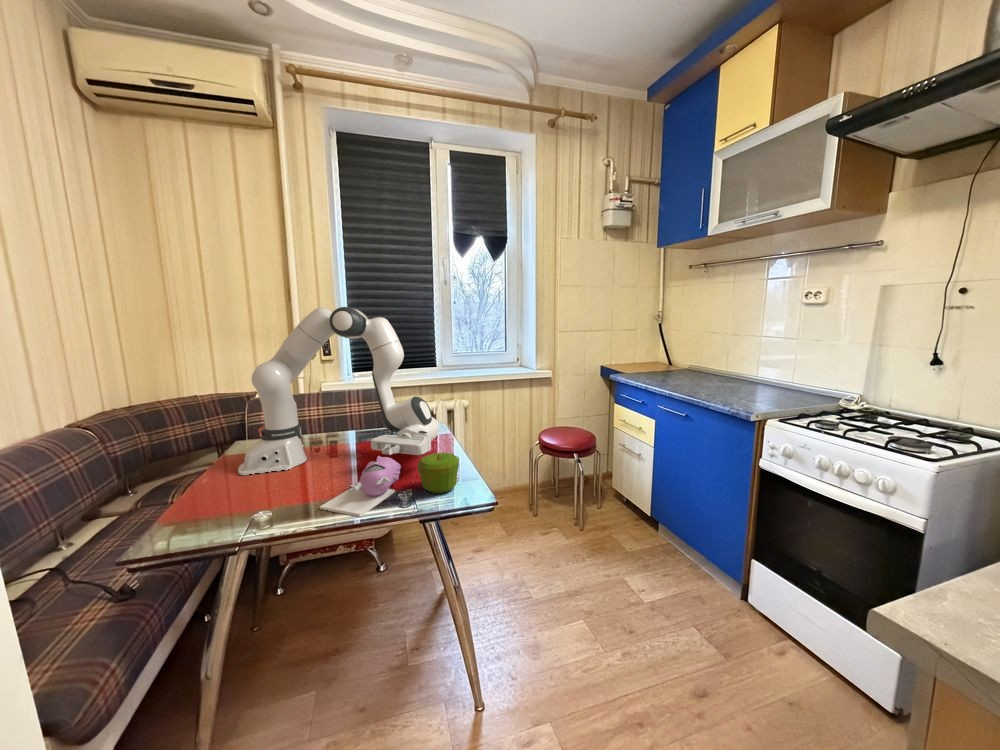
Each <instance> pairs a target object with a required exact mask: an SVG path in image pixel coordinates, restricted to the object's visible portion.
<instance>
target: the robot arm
mask: <svg viewBox="0 0 1000 750" xmlns="http://www.w3.org/2000/svg"><path fill="white" fill-rule="evenodd" d="M334 335H338V336H340V337H343V338H345V339H350V340H360V339H363V340H364V341H365V342H366V344H367V346H368V348H369V351H370V353H371V356H372V361H373V367H372V368H373V369H372V370H371V376H372V381H373V385H374V389H375V391H376V396H377V400H378V403H379V407H380V413H381V421H382V424H383V426H384V427H385V428H386V429H387V430H389V431H390V432H392V433H397V435H395V434H394V435H392V434H381V435H378V436H376V437H373V438H371V440H370V447H371V450H373V451H380V452H381V454H382V455H388V456H392V455H393V454H405V455H413V456H414V455H415V456H423V455H424V454H426V453H428V452H430V451H431V450H432V441H433V440H434V439H436V437H437V436H438V434H439V432H440V424H439V421H438V420H437V419H436V418H434V417H433V415H432V411H431V407H430V406H429V404H428V403H427V401H426V400H424V399H423V398H422V397H419V396H413V397H410V398H408V399H405V400H403V401H401V402H398V403H396V401H395V399H394V394H393V391H392V388H391V379H392V376H393V375H394V373H395V372H396V371H398V369H399V367H401V365H402V363H403V361H404V358H405V353H404V352H405V351H404V348H403V345H402V344H401V341H400V339H399V337H398V334H397V333H396V331H395V329H394V328H393V326H392V325H391V323H390V322H389V320H388V319H386V318H385V317H382V316H381V317H380V316H379V317H378V316H377V317H373V318H369V316H368V315H367V314H365V313H363V312H362V311H360V310H359V309H357V308H352V307H350V306H340V307H337V308H336V309H334V310H333V311H332V310H331V309H329V308H327V307H321V306H320V307H317V308H315V309H313V310H312V311H311V312H309V313H308V314H307V315H306V316H305V317H304V318H302V319H301V321H300V322H299V323H298V324H297V325H296V326H295V327H294V329H293V330H292V331H290V333H289V335H288V336H287V337H286V338H285V339H284V340H283V342H282V344H281V346H280V347H279V349H278V350H277V351H276V353H275V354H274V356H273V357H271V358H270V359H269V360H267V361H265V362H263V363H260V364H259V365H258V366H256V368H255V369H254V370H253V373H252V375H251V384H252V385H253V387H254V389H255V390H256V393H257V395H258V398H259V400H260V404H261V407H262V414H263V421H264V427H263V426H262V427H260V428H258V434H259V440H258V441H256V442H255V443H254V444H253V445H252V446H250V448H248V449H247V451H246V452H245V455H244V461H243V462H242V463H241V464H240V465H239V466H238V469H237V473H238V475H240V476H250V475H249V474H252V475H256V474H255V473H260V474H266V473H265V472H269V473H272V472H271V471H277V472H282V471H281V470H285V471H288V469H289V470H291V469H292V468H294V467H296V466H299V465H301V464H303V463H305V462H306V461H307V460H308V456H307V455H306V453H305V452H306V451H305V450H304V446H303V443H302V428H301V424H300V423H299V415H298V405H297V402H296V401H295V399H294V395H293V392H292V388H291V385H292V384H293V383H294V381H296V380H297V379H298V377H299V375H300V374H301V373H302V372H303V371H304V369H305V368H306V367H307V365H308V364H309V363H310V361H311V360H312V359H313V358H314V356H316V354H317V353H318V352H319V351H320V350H321V348H322V347H323V346H324V345H325V344H326V343H327V342H328V340H329V339H330V338H331V337H332V336H334Z"/></svg>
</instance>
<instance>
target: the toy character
mask: <svg viewBox="0 0 1000 750" xmlns="http://www.w3.org/2000/svg"><path fill="white" fill-rule="evenodd" d="M401 468H402V466H401V464H400V463H399V462H397V461H396V460H395V459H393V458H392V457H389V456H388V457H387V456H380V455H378V456H377V457H376V460H375V461H374V460H373V461H369V462H368V463H367V465H366V466H365V468H364V469H363V470H362V473H361V476H360V478H359V481H358V483H355V484H349V487H351V488H352V487H354V488H353V489H350V488H349V489H350V490H349V489H347V490H348V491H347V490H346V491H347V493H349V494H350V493H351V492H353V491H354V492H357V490H358V489H359V488H361V490H362V491H363V492H364V493H365V494H367V495H370V496H378V495H381V494H383V493H384V492H386V491H387V490H388V489H390V487H391V486H392V485H393V484H394V483H396V482H397V481H399V478H400V477H399V476H400V474H401V471H400V470H401Z"/></svg>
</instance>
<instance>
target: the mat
mask: <svg viewBox="0 0 1000 750" xmlns="http://www.w3.org/2000/svg"><path fill="white" fill-rule="evenodd" d="M353 488H354V487H351V488H349V489H347V490H346V491H344V492H342V493H340V494H339V495H337V496H335V497H334V498H332V499H330V500H328V501H326V502H325V503H323V504H322V505H320V506H319V509H320V510H322V509H323V511H327V510H328V512H333V513H338V514H344V515H348V516H355V517H362V516H363V515H365V514H366V513H368V512H370V510H372V509H374V508H375V507H376V506H377V505H379V504H380V503H382V502H383V501H384V500H386V499H387V498H389V497H390V496H391V495H393V494H395V493H396V490H395V489H392V488H389V489H388V490H387V491H386V492H384V493H383V494H381V495H378V496H370V495H367V494H365V493H364V492H363V491H362V490H361V488H359V489H358V490H357V492H354V491H353V492H351V493H350V494H349V493H347V491H348V490H350V489H353Z"/></svg>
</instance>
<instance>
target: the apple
mask: <svg viewBox="0 0 1000 750" xmlns="http://www.w3.org/2000/svg"><path fill="white" fill-rule="evenodd" d="M459 463H460V458H459V457H458V456H456V455H455V454H454V453H452V452H451V453H450V452H436V453H432V454H428V455H425V456H423V457H421V458H420V460H419V461H418V464H417V471H418V473H419V474H418V475H419V477H420V480H421V485H422V488H423V489H424V490H426V491H428V492H430V493H432V494H444V492H445V493H447V491H448V492H450V491H451V490H452V489H453V488H455V486H456V485H457V484H458V471H459V466H460V464H459Z"/></svg>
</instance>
